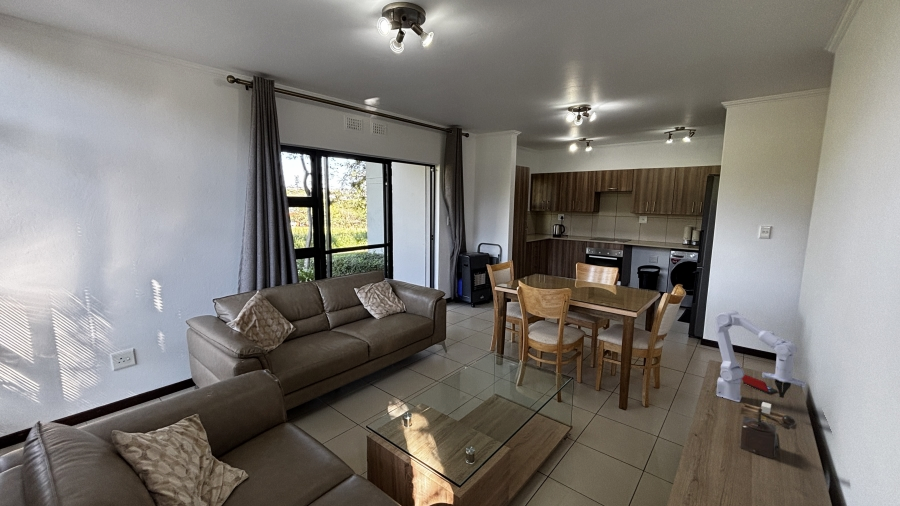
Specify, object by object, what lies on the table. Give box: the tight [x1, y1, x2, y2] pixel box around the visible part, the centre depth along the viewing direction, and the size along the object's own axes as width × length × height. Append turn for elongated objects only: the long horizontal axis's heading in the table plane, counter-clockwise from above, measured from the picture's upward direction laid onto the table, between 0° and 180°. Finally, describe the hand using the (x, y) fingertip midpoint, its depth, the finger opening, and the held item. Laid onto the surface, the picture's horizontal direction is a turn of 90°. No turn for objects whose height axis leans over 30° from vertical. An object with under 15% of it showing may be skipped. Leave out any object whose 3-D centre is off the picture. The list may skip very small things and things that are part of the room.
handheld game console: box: [741, 373, 778, 395], centre depth 193 cm, size 12×11×7 cm
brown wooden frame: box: [740, 402, 790, 427], centre depth 166 cm, size 16×6×3 cm, turn 44°
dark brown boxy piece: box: [739, 407, 796, 459], centre depth 142 cm, size 16×11×18 cm
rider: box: [760, 401, 772, 415], centre depth 165 cm, size 3×5×5 cm, turn 134°
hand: (781, 396), depth 165 cm, fingers closed
